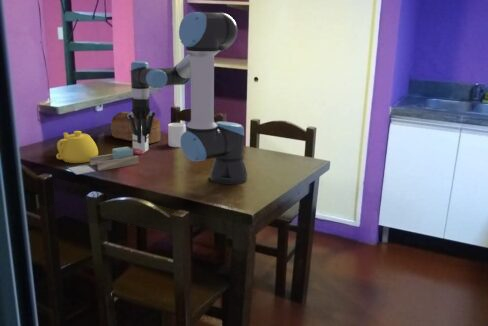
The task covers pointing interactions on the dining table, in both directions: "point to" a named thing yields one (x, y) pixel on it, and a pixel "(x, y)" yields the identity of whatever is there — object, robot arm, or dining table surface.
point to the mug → (175, 134)
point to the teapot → (76, 148)
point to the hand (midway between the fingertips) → (142, 149)
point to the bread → (124, 131)
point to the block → (122, 152)
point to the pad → (81, 169)
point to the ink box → (136, 144)
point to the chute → (112, 161)
